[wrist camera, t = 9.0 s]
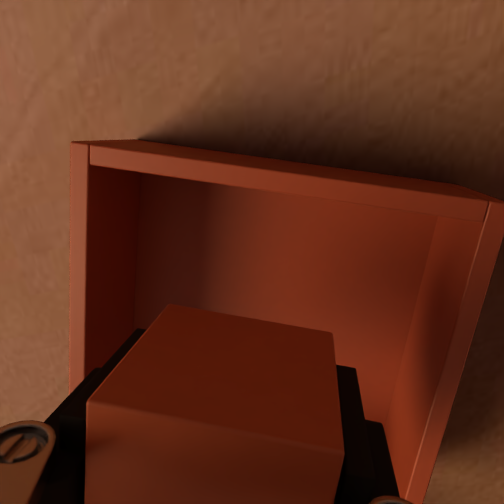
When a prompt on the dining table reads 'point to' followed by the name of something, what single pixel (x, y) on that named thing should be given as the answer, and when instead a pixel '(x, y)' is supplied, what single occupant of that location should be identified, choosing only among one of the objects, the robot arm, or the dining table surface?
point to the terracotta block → (217, 415)
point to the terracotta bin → (289, 268)
